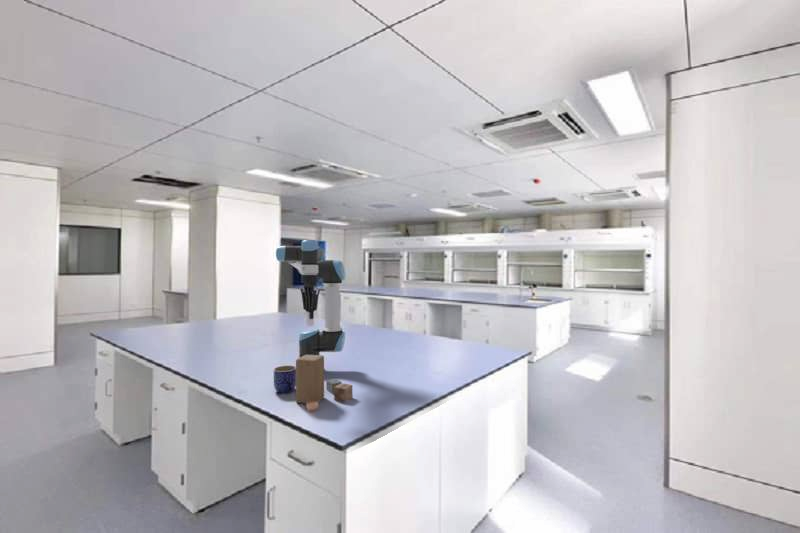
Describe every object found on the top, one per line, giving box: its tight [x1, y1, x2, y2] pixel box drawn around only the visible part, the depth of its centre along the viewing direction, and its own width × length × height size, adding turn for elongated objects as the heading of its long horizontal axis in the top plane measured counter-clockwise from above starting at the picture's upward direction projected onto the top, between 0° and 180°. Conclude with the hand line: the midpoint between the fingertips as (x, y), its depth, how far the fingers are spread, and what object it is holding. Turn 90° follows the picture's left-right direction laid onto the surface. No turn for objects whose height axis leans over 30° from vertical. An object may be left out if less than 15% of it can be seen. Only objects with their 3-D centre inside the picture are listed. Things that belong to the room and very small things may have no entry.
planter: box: [273, 365, 296, 394], centre depth 183 cm, size 11×11×11 cm
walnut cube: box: [333, 383, 353, 403], centre depth 173 cm, size 6×6×6 cm
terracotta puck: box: [306, 401, 320, 413], centre depth 160 cm, size 5×5×3 cm
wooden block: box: [295, 354, 325, 405], centre depth 171 cm, size 10×10×20 cm
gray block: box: [325, 378, 342, 395], centre depth 183 cm, size 7×5×5 cm
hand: (310, 325), depth 170 cm, fingers closed
